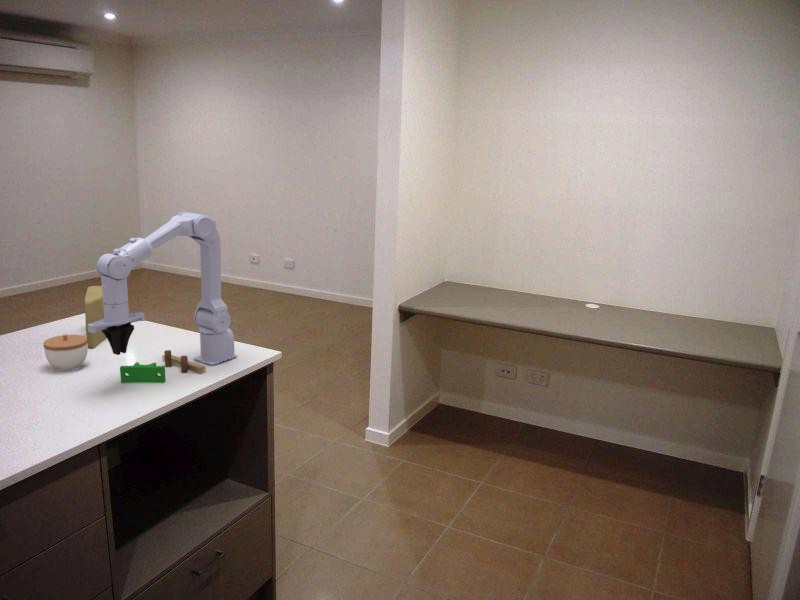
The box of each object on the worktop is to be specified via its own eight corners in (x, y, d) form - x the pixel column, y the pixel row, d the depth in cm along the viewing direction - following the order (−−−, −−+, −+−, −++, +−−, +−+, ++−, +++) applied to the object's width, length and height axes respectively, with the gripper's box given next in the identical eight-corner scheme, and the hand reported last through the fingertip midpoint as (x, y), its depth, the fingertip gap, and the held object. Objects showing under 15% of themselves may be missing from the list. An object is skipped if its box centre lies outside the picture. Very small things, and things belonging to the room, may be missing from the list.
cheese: (108, 348, 185) (104, 301, 181) (73, 349, 183) (68, 301, 179) (122, 327, 206) (119, 284, 202) (91, 327, 203) (87, 284, 200)
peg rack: (168, 359, 178) (167, 344, 177) (205, 372, 170) (204, 356, 169) (155, 363, 175) (154, 348, 174) (192, 376, 167) (192, 361, 165)
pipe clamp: (168, 378, 165) (167, 362, 164) (164, 383, 162) (163, 367, 161) (125, 377, 164) (124, 361, 163) (120, 383, 160) (119, 366, 159)
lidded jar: (71, 375, 163) (68, 342, 161) (36, 371, 165) (33, 338, 163) (98, 362, 173) (95, 331, 171) (65, 358, 175) (62, 327, 173)
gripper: (131, 293, 160) (135, 342, 163) (78, 304, 148) (83, 357, 151) (148, 298, 156) (151, 348, 160) (95, 309, 144) (100, 363, 148)
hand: (119, 353), depth 155 cm, fingers closed
